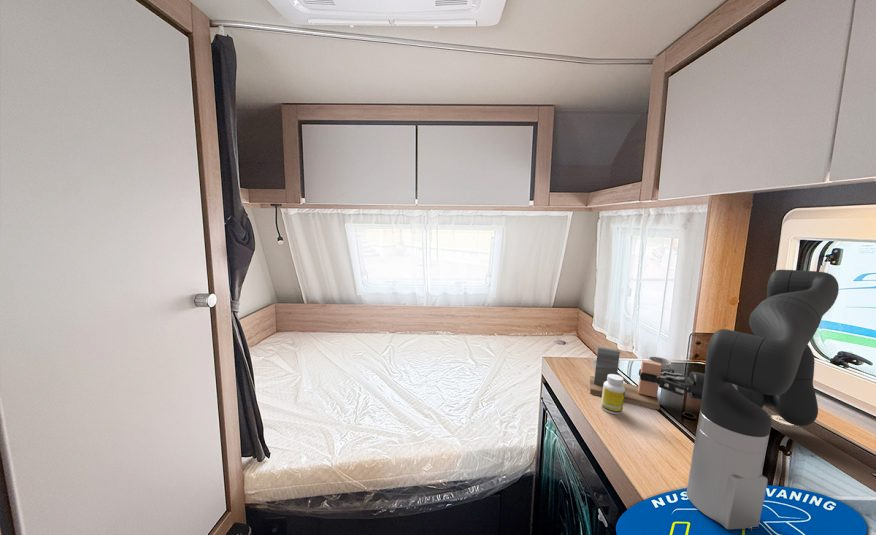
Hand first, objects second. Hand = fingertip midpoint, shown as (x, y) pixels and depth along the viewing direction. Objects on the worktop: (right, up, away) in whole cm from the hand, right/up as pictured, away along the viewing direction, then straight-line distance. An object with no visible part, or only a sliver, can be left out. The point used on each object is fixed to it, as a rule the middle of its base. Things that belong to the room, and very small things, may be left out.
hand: (640, 374), depth 97 cm
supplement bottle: (-12, -8, -7) cm, 16 cm away
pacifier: (-1, -5, +19) cm, 20 cm away
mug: (+16, -6, +16) cm, 24 cm away
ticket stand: (-4, -7, +3) cm, 9 cm away
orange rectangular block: (+2, -6, 0) cm, 6 cm away
